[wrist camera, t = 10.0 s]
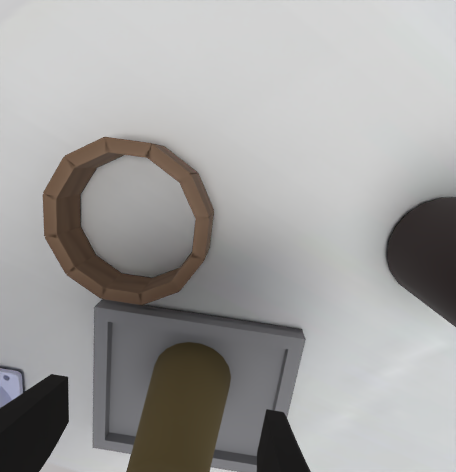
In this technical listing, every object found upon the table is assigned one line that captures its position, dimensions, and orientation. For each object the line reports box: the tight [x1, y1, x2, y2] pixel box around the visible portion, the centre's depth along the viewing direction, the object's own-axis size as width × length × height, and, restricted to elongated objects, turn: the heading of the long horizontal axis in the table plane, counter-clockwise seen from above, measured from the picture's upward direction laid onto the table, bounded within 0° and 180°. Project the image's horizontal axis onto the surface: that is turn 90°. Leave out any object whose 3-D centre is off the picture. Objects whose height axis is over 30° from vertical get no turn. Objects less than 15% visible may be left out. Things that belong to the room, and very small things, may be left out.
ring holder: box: [43, 137, 214, 305], centre depth 18 cm, size 10×10×2 cm
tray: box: [93, 299, 305, 472], centre depth 21 cm, size 15×13×1 cm
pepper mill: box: [127, 342, 231, 472], centre depth 16 cm, size 6×6×11 cm
